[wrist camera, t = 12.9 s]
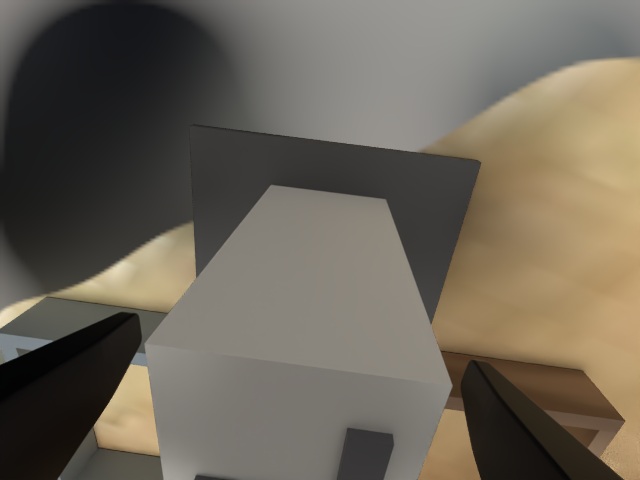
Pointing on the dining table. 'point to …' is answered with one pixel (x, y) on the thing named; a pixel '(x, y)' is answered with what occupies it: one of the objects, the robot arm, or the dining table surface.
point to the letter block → (299, 351)
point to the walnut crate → (550, 397)
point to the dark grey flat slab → (337, 177)
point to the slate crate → (54, 323)
